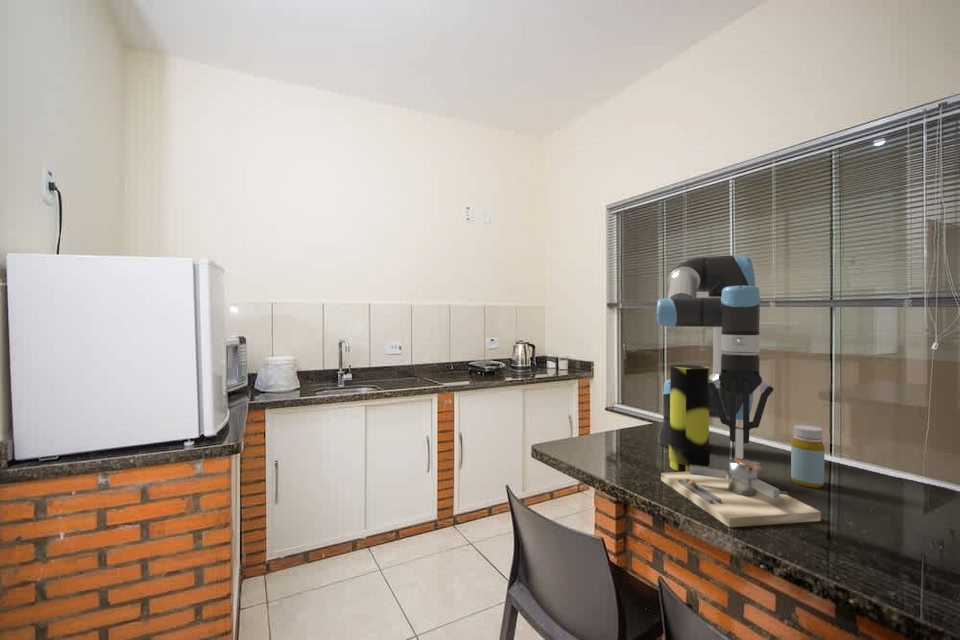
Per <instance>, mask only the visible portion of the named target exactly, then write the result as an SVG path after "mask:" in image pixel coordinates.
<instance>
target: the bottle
mask: <svg viewBox="0 0 960 640" xmlns="http://www.w3.org/2000/svg"><path fill="white" fill-rule="evenodd" d="M792 432H793V439H792V441H791V444H790V445H791V446H790V447H791V450H790V452H791V454H790V459H791V461H790V463H791V464H790V476H791V477H790V478H791V480H792V482H794V483H795V484H798V485H800V486H803V487H806V488H812V489H813V488H815V489H817V488H822V487H823V486H824V485H825V446H824V443H823V428H821V427H819V426H814V425H808V424H795V425H793V431H792Z"/></svg>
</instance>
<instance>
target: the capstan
mask: <svg viewBox="0 0 960 640" xmlns="http://www.w3.org/2000/svg"><path fill="white" fill-rule="evenodd" d="M727 468H728V469H726V468H720V467H711V466H709V467H705V466H697V465H690V474H692V475H700V476H708V477H715V478H723V479H726V470H728V489H729V490H730V491H732V492H734V493H737V494H740V495H746V496H754V495H757V490H758V491H759V492H761V493H763V494H765V495H767V496H769V497H771V498H773V499H779V494H780V489H779V488H777V487H775V486H773V485H771V484H769V483H766V482H765V481H762V480H761V479H758V473H759V472H760V471H762V467H761V462H758V461H751V460H748V459H744V458H743V459H741V458H735V457H734V458H731V459H729V460H728V467H727Z"/></svg>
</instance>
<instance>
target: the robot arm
mask: <svg viewBox="0 0 960 640" xmlns="http://www.w3.org/2000/svg"><path fill="white" fill-rule="evenodd" d="M753 264H754V263H753V262H752V259H751V258H750V257H749V256H748V255H743V254H742V255H739V254H731V255H718V256H704V257H703V256H700V257H693V258H690V259H687V260H685V261H683V262H681V263H679V264H677V265H676V266H675V267H674V268H672V270H671V271H669V274H668V278H667V286H668V288H669V289H668V294H667V297H666V298H659V299H658V300H657V303H656V322H657V325H659V326H660V327H661V326H662V327H671V328H677V327H684V328H685V327H693V328H694V327H695V328H697V327H699V328H700V327H701V328H702V327H704V328H705V327H706V328H712V329H713V333H712V334H713V335H712V336H713V337H712V339H713V343H712V344H713V345H712V349H713V350H712V354H713V355H712V373H711V374H709V383H708V386H709V419H710V418H712V419H719V421H720V423H721V424H722V425H725V426H728V428H729V441H730V442H732V443H733V442H734V443H735V444H734V445H735V447H734V448H735V449H734V450H735V455H734V456H735V457H734V459H735V458H741V459H743V460H744V444H749V443H750V430H751V429H757V428H759V427H760V423H761V421H762V417H763V415H764V412H765V411H764V410H765V408H766V404H767V401H768V398H769V396H771V394H772V393H773V392H774V386H772V385H770V384H768V383H765V382H764V381H763V378H762V377H761V374H760V361H761V359H760V356H759V355H758V353H760V351H761V350H760V349H761V345H760V343H761V342H760V341H761V340H760V339H761V337H760V321H761V320H760V311H761V310H760V309H761V300H762V299H761V294H760V293H761V292H760V289H759V287H758V286H756V277H755V269H754V265H753ZM697 293H708V297H697ZM759 386H760V389H759V391H760V392H761V394H760V397H759V400H758V403H757V406H756V410H755V413H754V416H753V419H752V421H750V416H751V413H752V408H753V403H754V392H755V390H756V389H757V388H759ZM662 394H663V412H662V413H663V419H662V423H661V425H660V428H659V432H658V434H657V442H658V444H659V445H661V446H663V447H666V448H668V449H669V442H670V378H669V379H667V380H665V381H664V383H663V392H662ZM737 421H742V426H737Z"/></svg>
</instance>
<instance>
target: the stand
mask: <svg viewBox="0 0 960 640" xmlns="http://www.w3.org/2000/svg"><path fill="white" fill-rule="evenodd" d="M660 481H661V482H662V483H664V484H666V485H667V486H669V487H670V488H671V489H673V490H675V491H676V492H677V493H679V494H680V495H682V497H685V498H686V499H687V498H688V499H687V500H689V501H690V500H691V501H690V502H692V503H693V504H695V505H696V506H697V507H699V508H700V509H702V510H703V511H705V512H706V513H708V514H709V515H711V516H712V517H713V518H715V519H717V521H720V522H721V523H722V524H724V525H725V526H727V527H728V528H738V527H753V526H754V527H755V526H769V525H782V524H783V525H784V524H794V523H795V524H796V523H809V522H822V521H821V520H822V511H820V510H819V509H816V508H814V507H812V506H811V505H808V504H807V503H804V502H802V501H800V500H799V499H796V498H794V497H792V496H790V495H789V492H787V491H780V494H779V499H773V498H771V497H769V496H767V495H765V494H763V493H761V492H759V491H758V490H757V495H754V496H746V495H740V494H737V493H734V492H732V491H730V490H729V489H728V469H726V479H723V478H715V477H708V476H700V475H692V474H690V471H688V472H678V471H674V472H673V471H671V472H660Z"/></svg>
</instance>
